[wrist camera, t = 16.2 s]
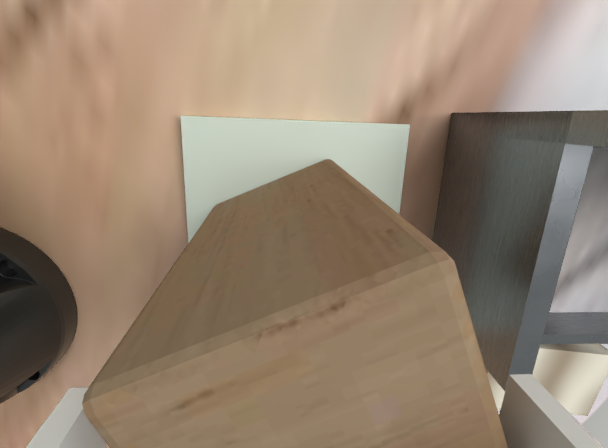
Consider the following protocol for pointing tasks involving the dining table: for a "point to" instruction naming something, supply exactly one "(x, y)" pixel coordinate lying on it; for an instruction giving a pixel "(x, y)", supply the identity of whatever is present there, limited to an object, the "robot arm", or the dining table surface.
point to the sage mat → (284, 157)
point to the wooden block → (301, 333)
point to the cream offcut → (567, 375)
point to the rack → (517, 227)
